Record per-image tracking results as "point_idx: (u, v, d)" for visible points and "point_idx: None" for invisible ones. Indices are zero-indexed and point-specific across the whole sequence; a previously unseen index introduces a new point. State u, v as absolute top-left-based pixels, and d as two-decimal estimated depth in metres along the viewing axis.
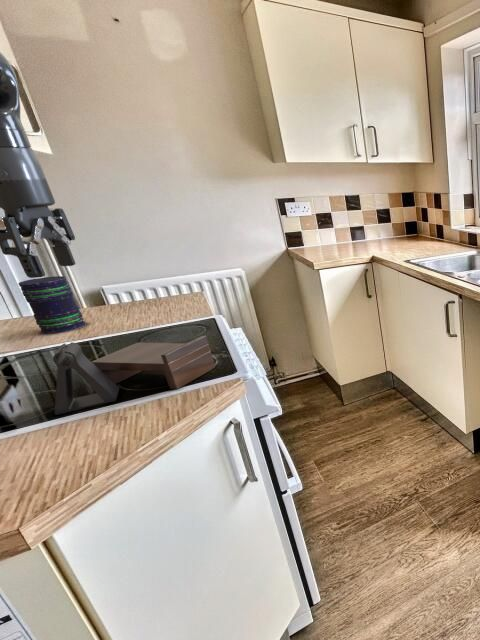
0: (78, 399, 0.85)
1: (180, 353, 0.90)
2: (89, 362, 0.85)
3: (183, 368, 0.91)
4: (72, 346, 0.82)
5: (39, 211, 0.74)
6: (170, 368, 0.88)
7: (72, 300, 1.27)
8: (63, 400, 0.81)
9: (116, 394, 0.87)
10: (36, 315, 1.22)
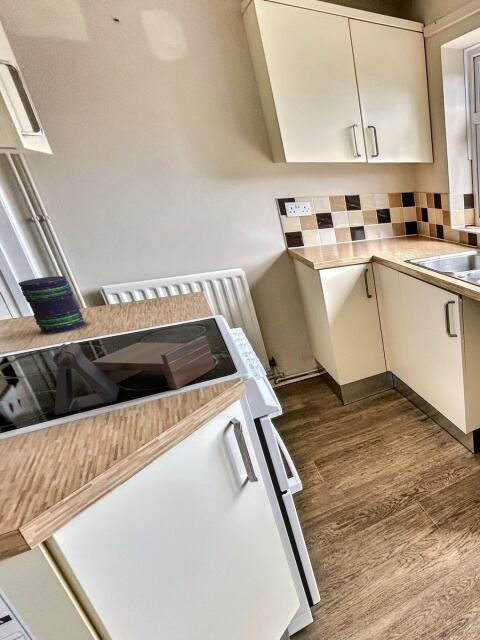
0: (78, 399, 0.85)
1: (180, 353, 0.90)
2: (89, 362, 0.85)
3: (183, 368, 0.91)
4: (72, 346, 0.82)
5: None
6: (170, 368, 0.88)
7: (72, 300, 1.27)
8: (63, 400, 0.81)
9: (116, 394, 0.87)
10: (36, 315, 1.22)
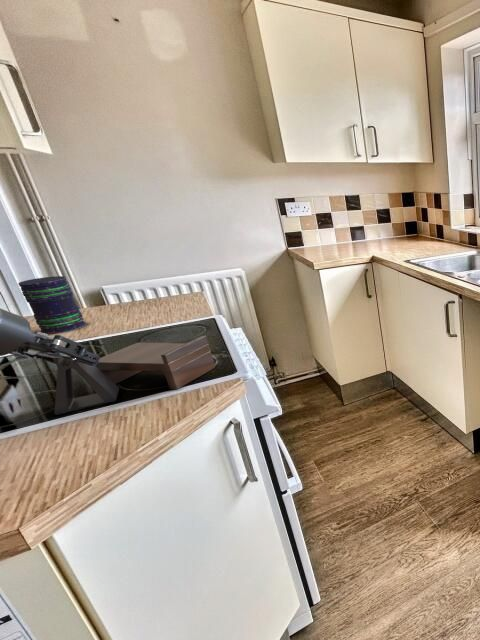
0: (78, 399, 0.85)
1: (180, 353, 0.90)
2: None
3: (183, 368, 0.91)
4: None
5: None
6: (170, 368, 0.88)
7: (72, 300, 1.27)
8: (63, 400, 0.81)
9: (116, 394, 0.87)
10: (36, 315, 1.22)
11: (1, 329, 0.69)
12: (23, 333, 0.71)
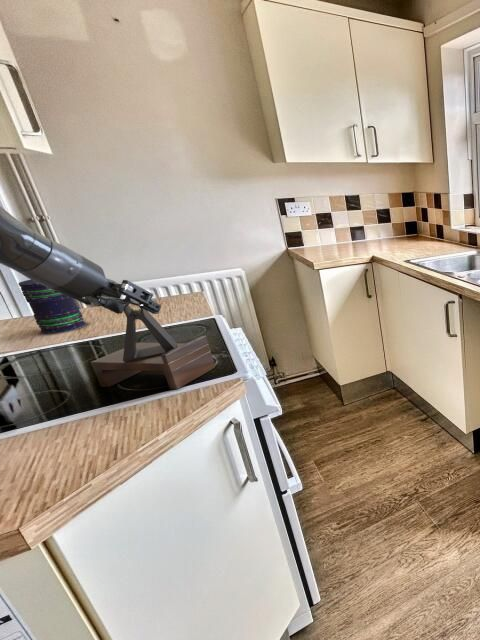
0: (141, 350, 0.93)
1: (180, 353, 0.90)
2: (151, 316, 0.93)
3: (183, 368, 0.91)
4: None
5: None
6: (170, 368, 0.88)
7: (72, 300, 1.27)
8: (130, 349, 0.88)
9: (175, 346, 0.94)
10: (36, 315, 1.22)
11: (82, 272, 0.76)
12: (99, 278, 0.79)
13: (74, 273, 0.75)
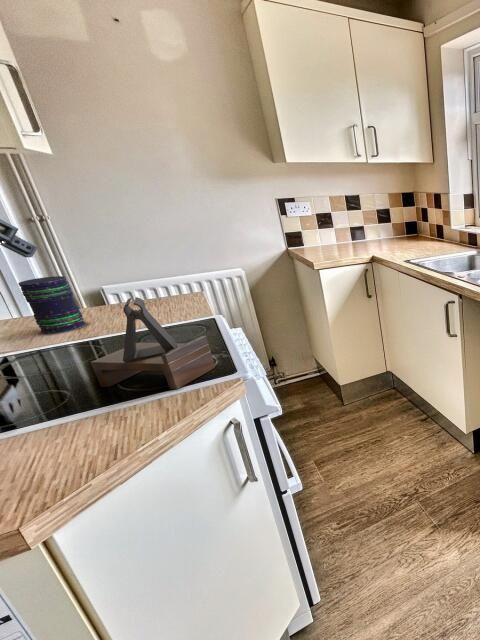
0: (141, 350, 0.93)
1: (180, 353, 0.90)
2: (151, 316, 0.93)
3: (183, 368, 0.91)
4: (138, 300, 0.89)
5: None
6: (170, 368, 0.88)
7: (72, 300, 1.27)
8: (130, 349, 0.88)
9: (175, 346, 0.94)
10: (36, 315, 1.22)
11: None
12: None
13: None
